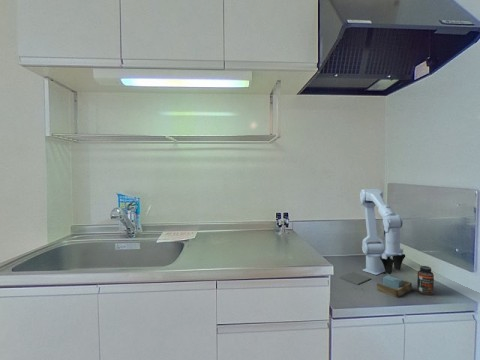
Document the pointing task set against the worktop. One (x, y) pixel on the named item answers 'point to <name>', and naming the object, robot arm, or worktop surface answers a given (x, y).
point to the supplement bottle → (425, 281)
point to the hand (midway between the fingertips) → (392, 271)
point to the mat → (355, 278)
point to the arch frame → (395, 292)
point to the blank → (392, 282)
